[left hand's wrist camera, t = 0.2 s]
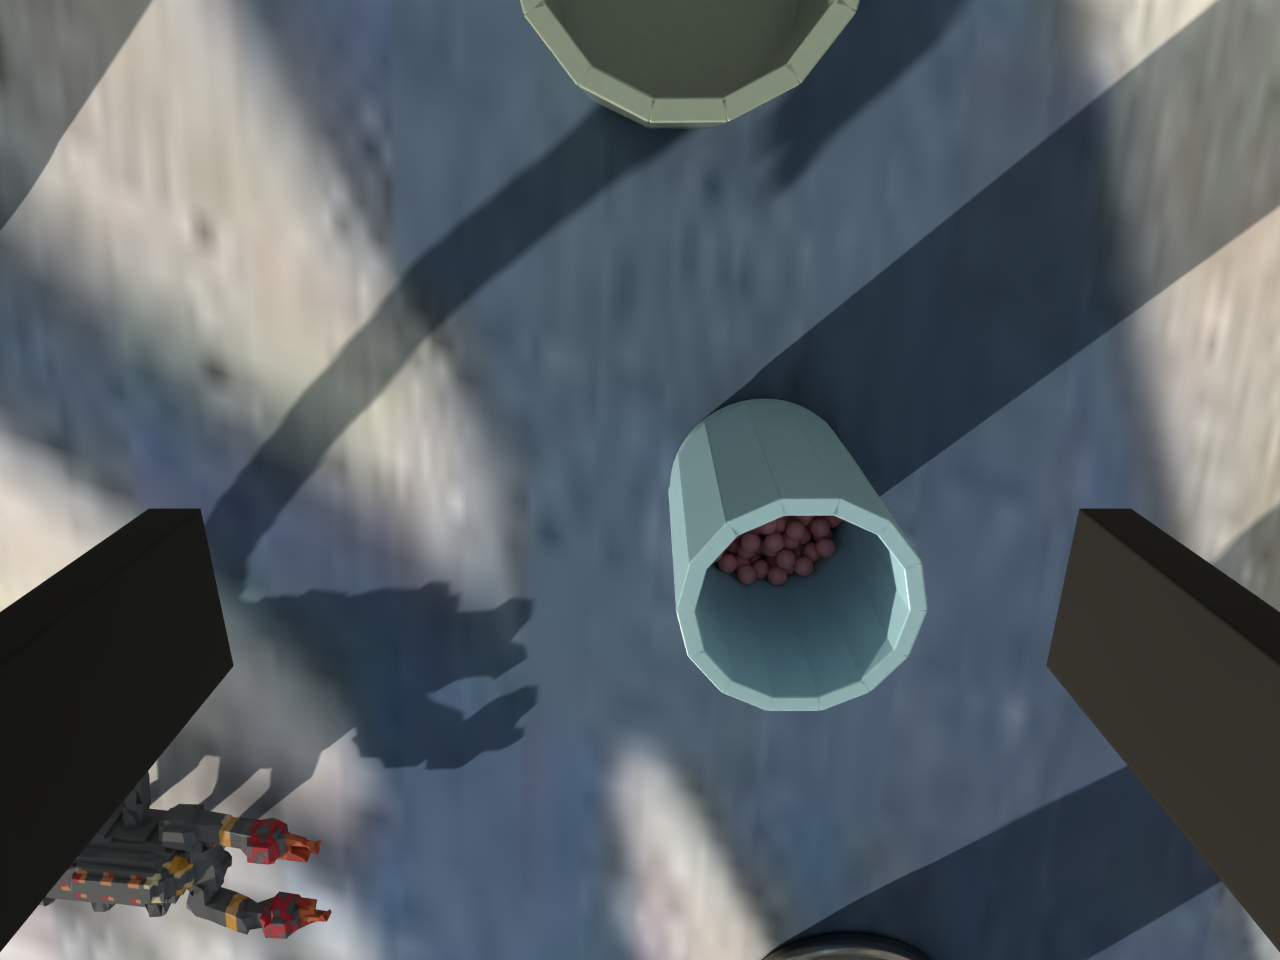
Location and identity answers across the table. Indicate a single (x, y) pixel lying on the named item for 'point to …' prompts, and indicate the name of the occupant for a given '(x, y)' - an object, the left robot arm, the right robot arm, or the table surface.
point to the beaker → (804, 605)
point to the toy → (186, 865)
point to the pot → (687, 52)
